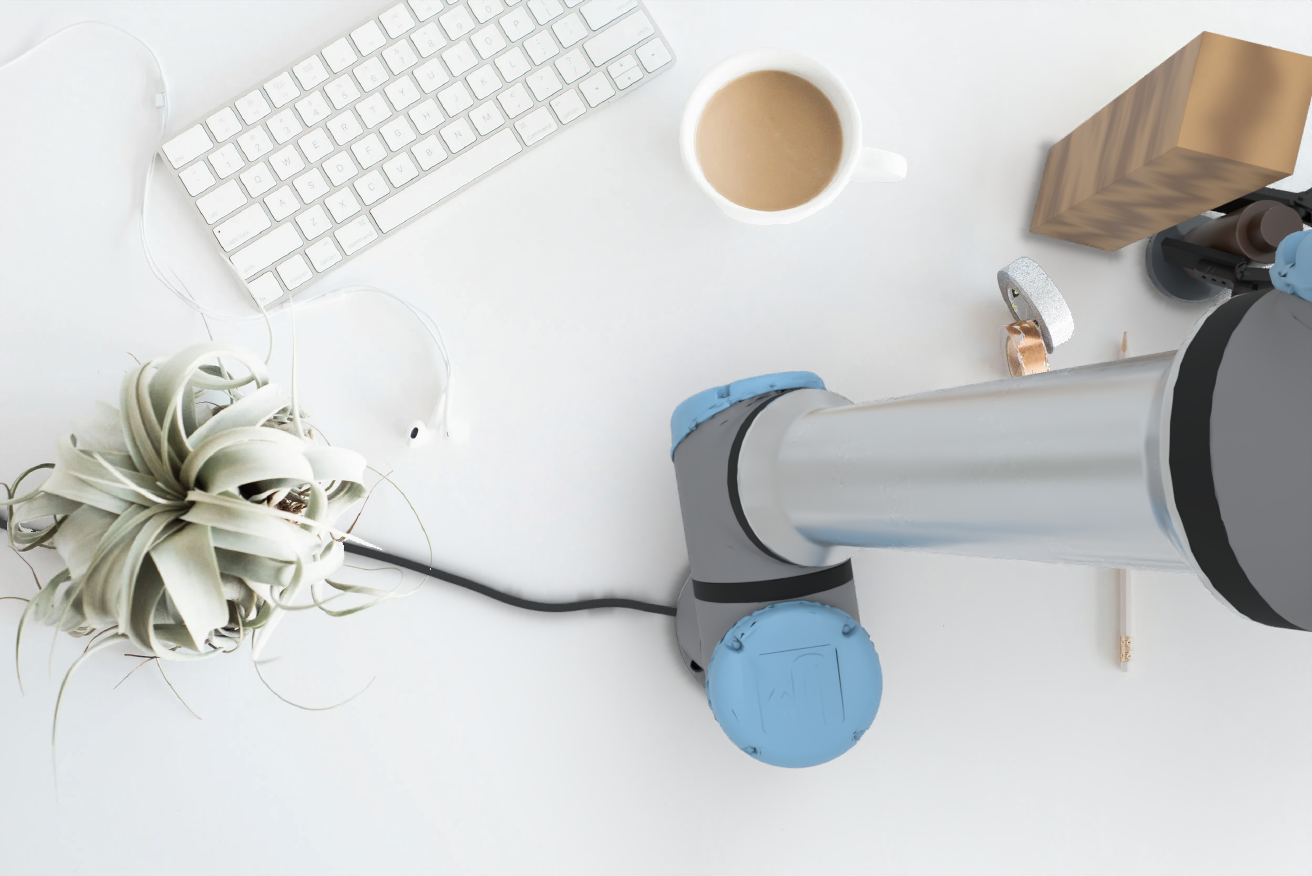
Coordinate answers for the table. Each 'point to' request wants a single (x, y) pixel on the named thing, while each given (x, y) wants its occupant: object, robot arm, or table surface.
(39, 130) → the table surface
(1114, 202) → the block
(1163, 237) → the coaster
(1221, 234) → the pepper mill
